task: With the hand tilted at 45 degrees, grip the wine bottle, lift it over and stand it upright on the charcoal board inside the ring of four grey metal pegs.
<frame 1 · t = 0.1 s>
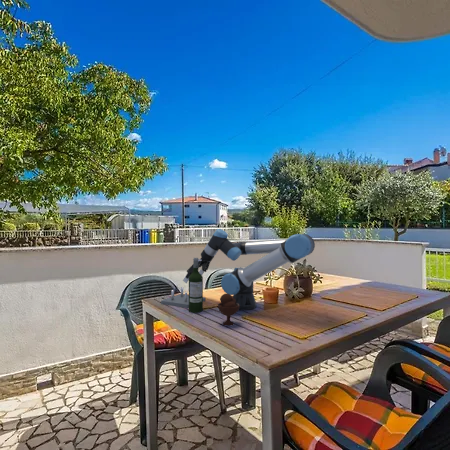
hand: (191, 280, 176), 15 cm above the table, tool tilted 35°, fingers open, 13 cm apart
wine bottle: (195, 311, 164), on the table
peg stand: (183, 302, 183), on the table
ice cream bowl: (228, 324, 142), on the table
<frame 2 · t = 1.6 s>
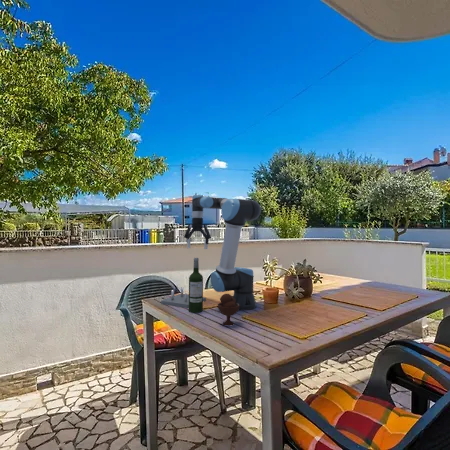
hand: (197, 248, 199), 33 cm above the table, tool pointing down, fingers open, 13 cm apart
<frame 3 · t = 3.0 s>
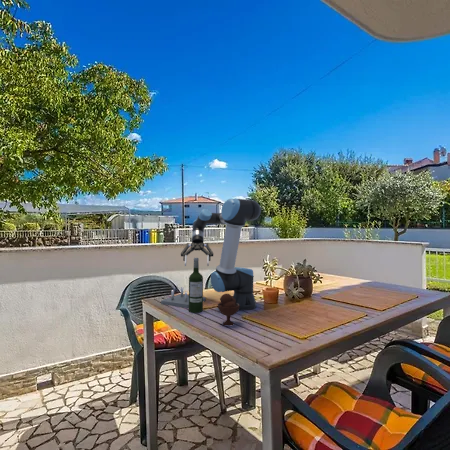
hand: (196, 264, 175), 25 cm above the table, tool tilted 45°, fingers open, 13 cm apart
nothing on the table moved.
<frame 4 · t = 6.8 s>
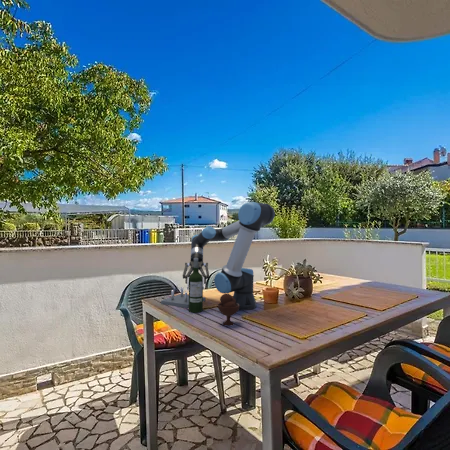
hand: (195, 288, 161), 14 cm above the table, tool tilted 45°, fingers closed on wine bottle, 8 cm apart
wine bottle: (195, 311, 164), on the table, touching gripper
everything else where it was.
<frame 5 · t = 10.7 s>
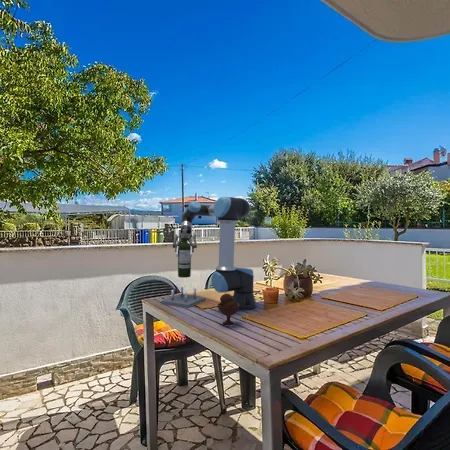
hand: (184, 255, 180), 30 cm above the table, tool tilted 45°, fingers closed on wine bottle, 8 cm apart
wine bottle: (184, 276, 183), point 16 cm above the table, touching gripper
everything else where it was.
when the fingers open (17 cm above the table, at t = 14.2 s): wine bottle drops 1 cm, resting on peg stand.
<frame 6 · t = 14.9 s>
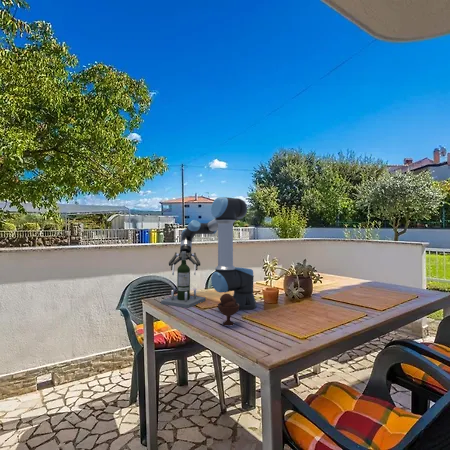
hand: (183, 274, 181), 18 cm above the table, tool tilted 45°, fingers open, 13 cm apart
wine bottle: (183, 299, 183), point 2 cm above the table, touching peg stand
everything else where it was.
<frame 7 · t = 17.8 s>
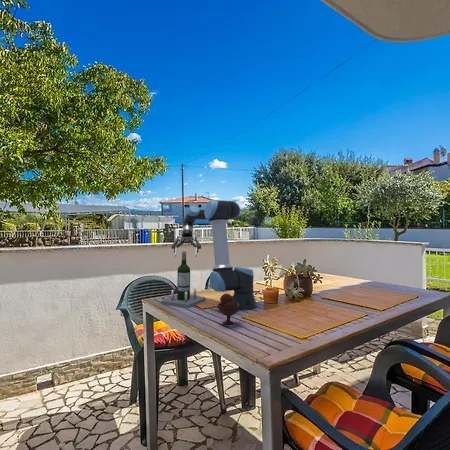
hand: (185, 255, 194), 28 cm above the table, tool tilted 45°, fingers open, 13 cm apart
nothing on the table moved.
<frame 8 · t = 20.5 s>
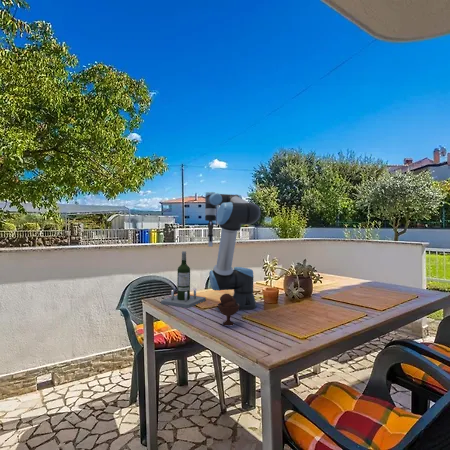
hand: (210, 245, 199), 35 cm above the table, tool pointing down, fingers open, 13 cm apart
nothing on the table moved.
at the end: wine bottle 0.4 cm off-centre on the peg stand, point 1.8 cm above the peg stand's base; wine bottle tilted 0°; the gripper is holding nothing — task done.
